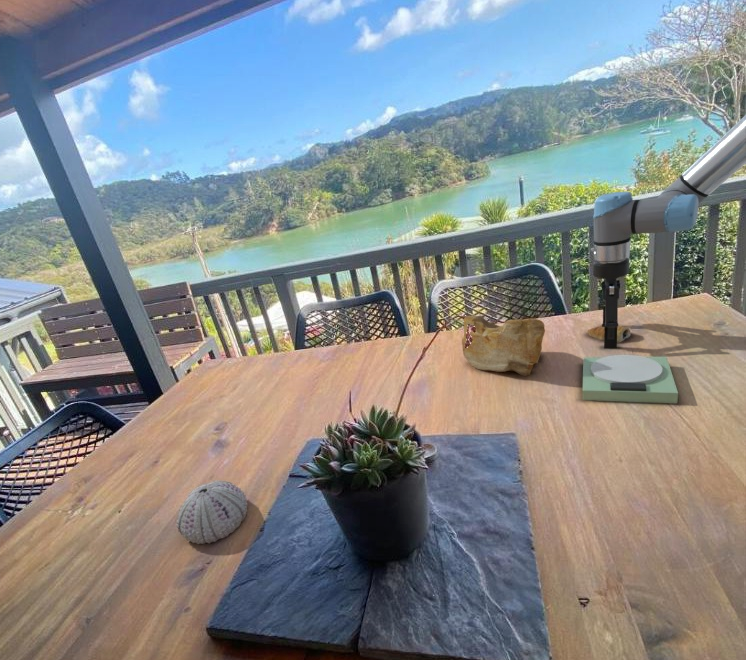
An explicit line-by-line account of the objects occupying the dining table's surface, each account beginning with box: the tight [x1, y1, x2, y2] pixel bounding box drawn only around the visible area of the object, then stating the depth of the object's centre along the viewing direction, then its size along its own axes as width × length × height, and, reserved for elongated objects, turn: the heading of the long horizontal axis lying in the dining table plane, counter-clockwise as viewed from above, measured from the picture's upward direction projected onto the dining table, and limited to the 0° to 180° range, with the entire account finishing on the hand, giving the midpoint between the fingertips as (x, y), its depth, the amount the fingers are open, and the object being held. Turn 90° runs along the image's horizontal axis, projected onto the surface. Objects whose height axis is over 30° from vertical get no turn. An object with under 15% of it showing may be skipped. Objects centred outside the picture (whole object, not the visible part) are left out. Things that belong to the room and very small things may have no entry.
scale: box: [582, 354, 679, 404], centre depth 94 cm, size 16×16×4 cm
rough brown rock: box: [461, 314, 546, 377], centre depth 112 cm, size 23×17×15 cm
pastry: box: [587, 325, 632, 344], centre depth 115 cm, size 9×7×4 cm
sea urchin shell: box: [175, 480, 248, 545], centre depth 82 cm, size 13×14×8 cm
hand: (609, 338), depth 115 cm, fingers open, 13 cm apart
